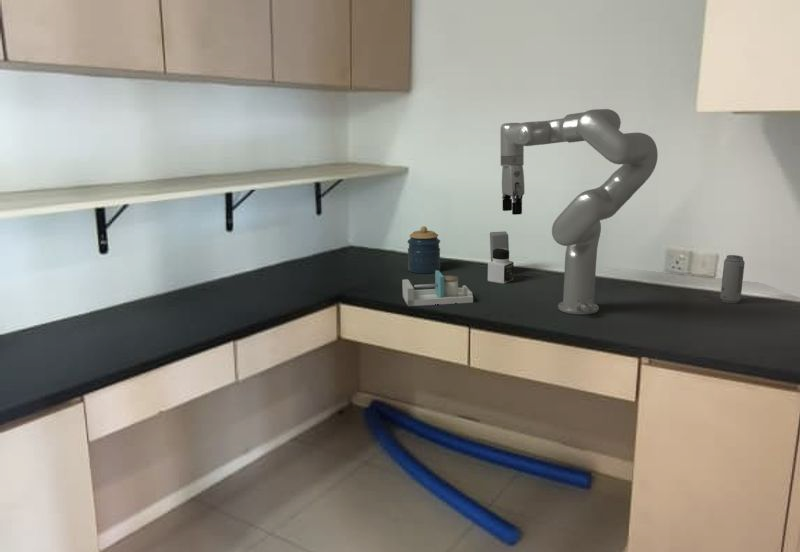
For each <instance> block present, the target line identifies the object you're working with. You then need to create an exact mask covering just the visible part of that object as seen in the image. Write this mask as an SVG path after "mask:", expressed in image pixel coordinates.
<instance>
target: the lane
mask: <svg viewBox="0 0 800 552" xmlns="http://www.w3.org/2000/svg"><path fill="white" fill-rule="evenodd" d="M402 298H403V300H404V302H405V304H406V305H407V307H416V306H417V307H419V306H434V305H435V304H436V305H435V306H437V304H439V305H450V304H451V305H452V304H455V303H457V304H472V303H474V296H473V292H472V291H471V290H470V289H469V288H468V287H467V285H465V284H464V285H462V287H458V297H445V298H439V297H438V296H437V295H436V293H435V288H432V289H429V288H428V289H415V288H414V286H413V284H412V283H411V281H410V280H409V279H406V278H405V279H402Z"/></svg>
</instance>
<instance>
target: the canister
mask: <svg viewBox="0 0 800 552" xmlns="http://www.w3.org/2000/svg"><path fill="white" fill-rule="evenodd" d="M438 236H439V234H438V233H436V232H435V231H433V230H428V228H427V226H424V225H423V226H421V227H420V230H416V231H413V232H412V233H411V234H409V237H410V238H409V239H408V240H407V243H408V248H407V257H408V258H407V259H408V263H407V268H408V269H407V270H408V271H409V272H411V273H414V274H433V273H434V274H435V271H437V270H439V271H441V248H440V243H441V240H440V239H439V238H438Z"/></svg>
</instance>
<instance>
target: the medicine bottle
mask: <svg viewBox="0 0 800 552" xmlns="http://www.w3.org/2000/svg"><path fill="white" fill-rule="evenodd" d="M493 260H494V261H491V260H490V261H489V262H487V282H491V283H497V284H507V283H509V282H511V281H514V261H513V260H510V249H509V250H507V249H504V248H497V249H494V250H493Z"/></svg>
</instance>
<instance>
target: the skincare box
mask: <svg viewBox="0 0 800 552" xmlns="http://www.w3.org/2000/svg"><path fill="white" fill-rule="evenodd" d="M489 243H490V244H489V245H490V246H489V247H490V262H491V261H494V260H493V250H494V249H497V248H504V249H507V250H509V251H510V249H509V247H510V244H509V234H508V232H507V231H506V230H505V231H490V232H489Z"/></svg>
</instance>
